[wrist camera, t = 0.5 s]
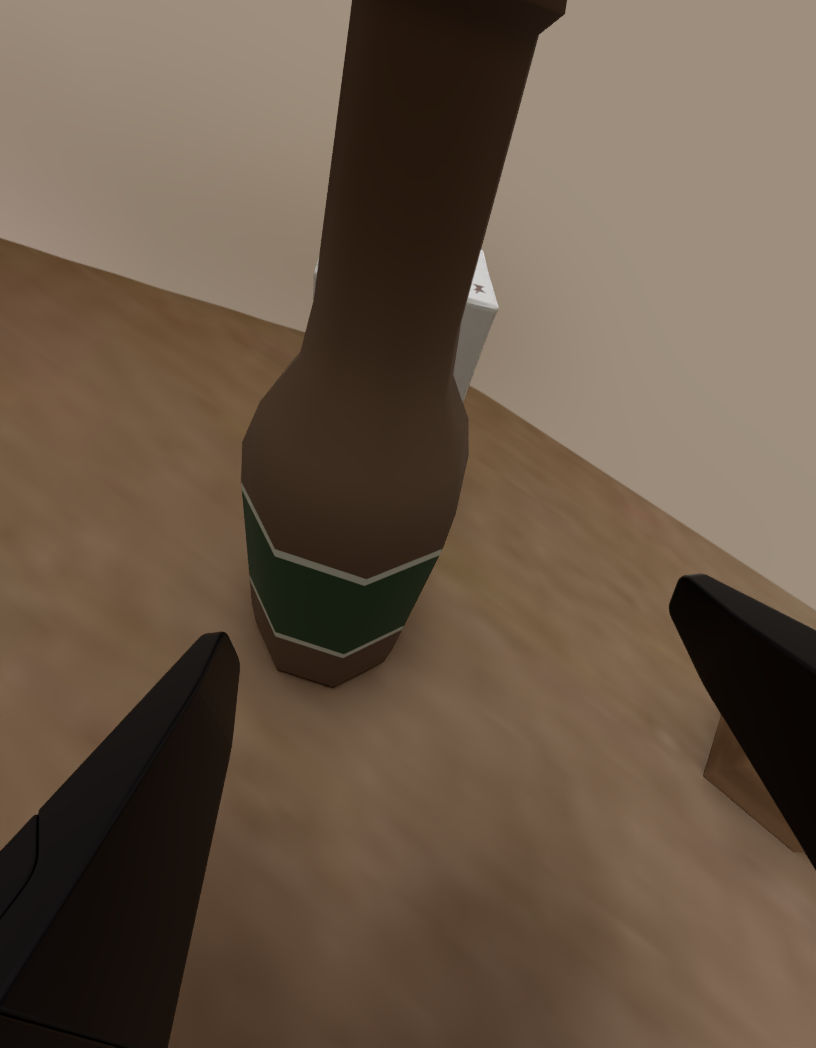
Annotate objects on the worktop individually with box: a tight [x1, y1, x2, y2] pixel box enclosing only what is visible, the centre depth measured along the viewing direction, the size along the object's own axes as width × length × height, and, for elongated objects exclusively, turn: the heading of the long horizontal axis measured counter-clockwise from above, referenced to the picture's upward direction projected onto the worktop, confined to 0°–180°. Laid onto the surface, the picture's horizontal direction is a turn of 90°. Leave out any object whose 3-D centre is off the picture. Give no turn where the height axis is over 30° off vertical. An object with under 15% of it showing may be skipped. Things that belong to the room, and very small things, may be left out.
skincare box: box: [313, 250, 499, 402], centre depth 26 cm, size 8×6×15 cm
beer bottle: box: [241, 0, 567, 687], centre depth 15 cm, size 8×8×24 cm
